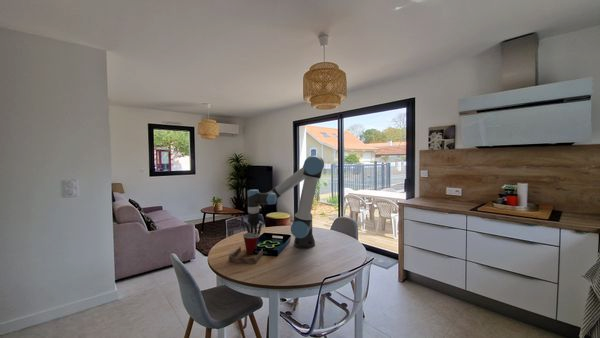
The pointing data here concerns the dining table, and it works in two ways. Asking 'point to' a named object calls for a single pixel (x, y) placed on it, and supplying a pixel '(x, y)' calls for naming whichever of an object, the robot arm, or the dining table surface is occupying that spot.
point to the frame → (244, 259)
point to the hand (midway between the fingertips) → (254, 245)
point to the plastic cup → (250, 242)
